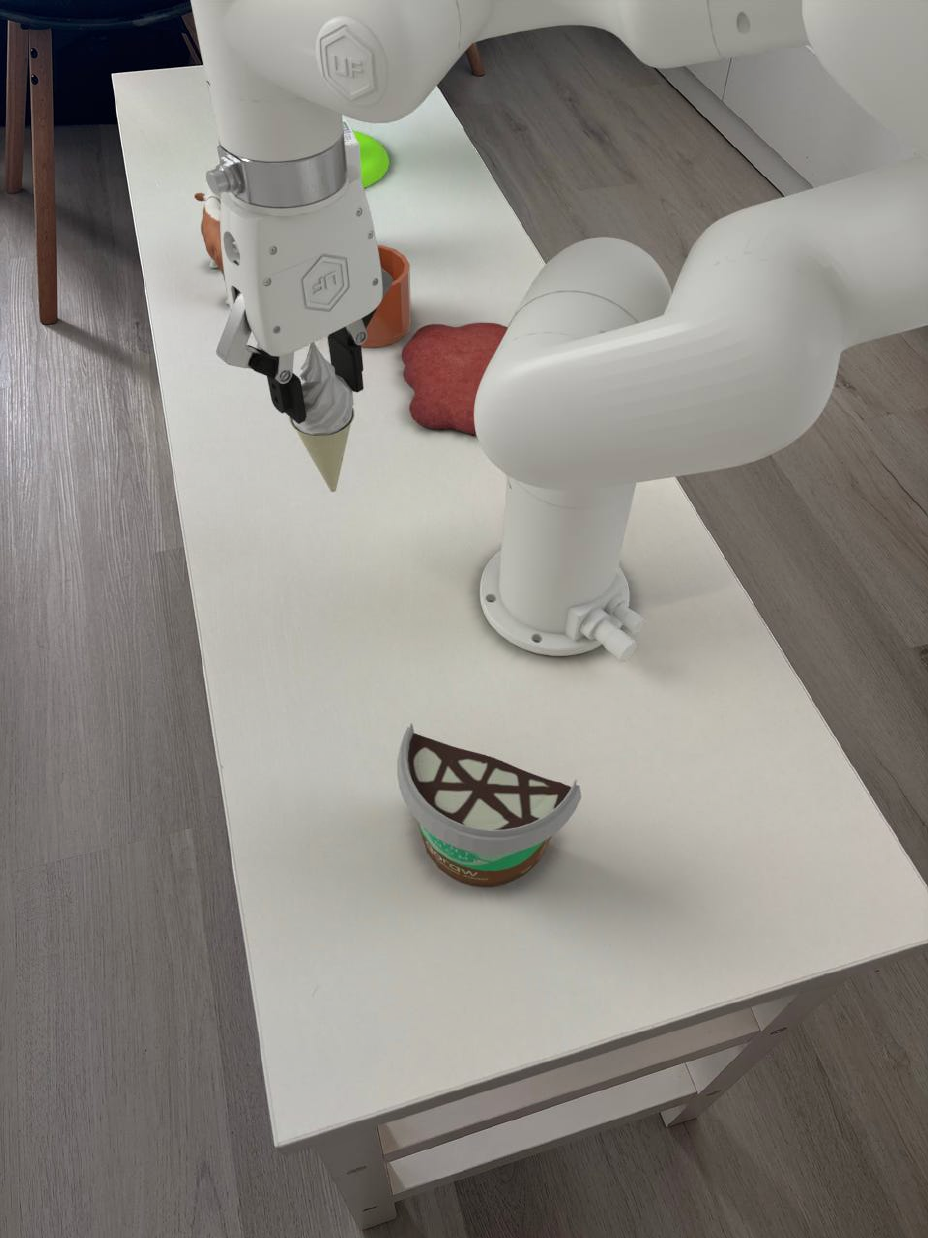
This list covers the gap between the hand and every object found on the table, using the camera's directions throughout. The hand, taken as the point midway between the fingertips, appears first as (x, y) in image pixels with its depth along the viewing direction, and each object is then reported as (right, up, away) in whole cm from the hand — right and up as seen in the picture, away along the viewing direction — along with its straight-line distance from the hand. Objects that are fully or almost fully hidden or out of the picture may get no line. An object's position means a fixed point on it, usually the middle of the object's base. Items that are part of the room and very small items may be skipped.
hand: (319, 396), depth 74 cm
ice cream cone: (0, -6, +8) cm, 10 cm away
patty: (+12, +7, +26) cm, 30 cm away
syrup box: (-4, +25, +40) cm, 47 cm away
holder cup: (+1, +15, +32) cm, 35 cm away
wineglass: (-7, +42, +53) cm, 68 cm away
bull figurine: (-15, +22, +37) cm, 45 cm away
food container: (+11, -34, -6) cm, 36 cm away
